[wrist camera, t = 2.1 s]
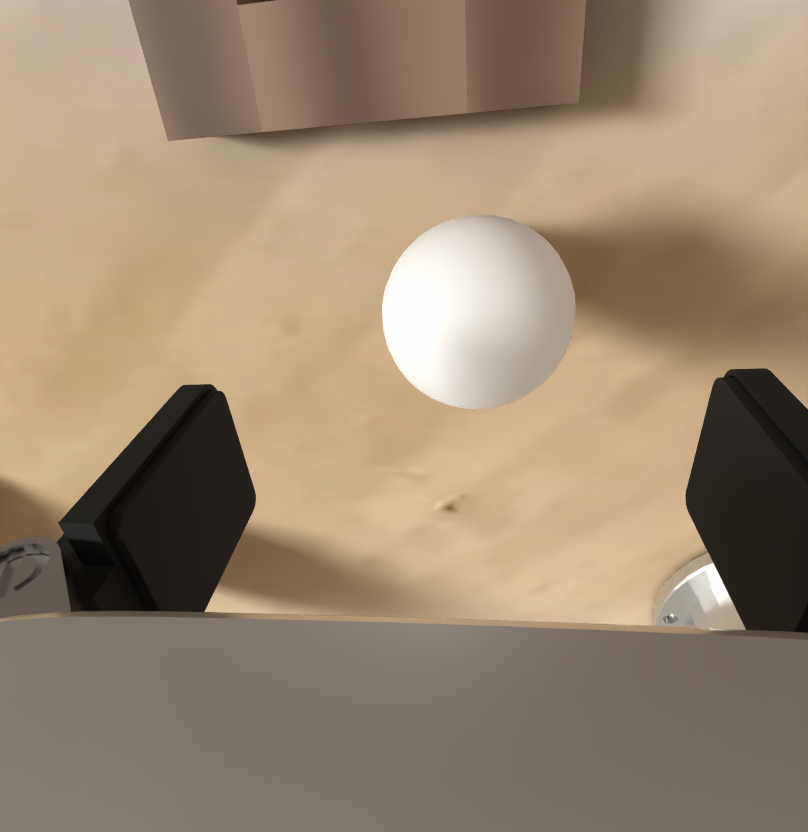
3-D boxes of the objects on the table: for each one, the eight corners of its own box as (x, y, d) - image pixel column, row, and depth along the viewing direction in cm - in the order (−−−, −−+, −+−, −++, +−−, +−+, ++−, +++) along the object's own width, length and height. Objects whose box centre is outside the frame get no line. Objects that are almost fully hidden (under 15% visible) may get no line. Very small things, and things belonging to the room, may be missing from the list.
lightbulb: (571, 201, 23) (635, 288, 13) (515, 330, 26) (535, 470, 17) (433, 155, 22) (400, 210, 13) (393, 290, 26) (345, 411, 16)
